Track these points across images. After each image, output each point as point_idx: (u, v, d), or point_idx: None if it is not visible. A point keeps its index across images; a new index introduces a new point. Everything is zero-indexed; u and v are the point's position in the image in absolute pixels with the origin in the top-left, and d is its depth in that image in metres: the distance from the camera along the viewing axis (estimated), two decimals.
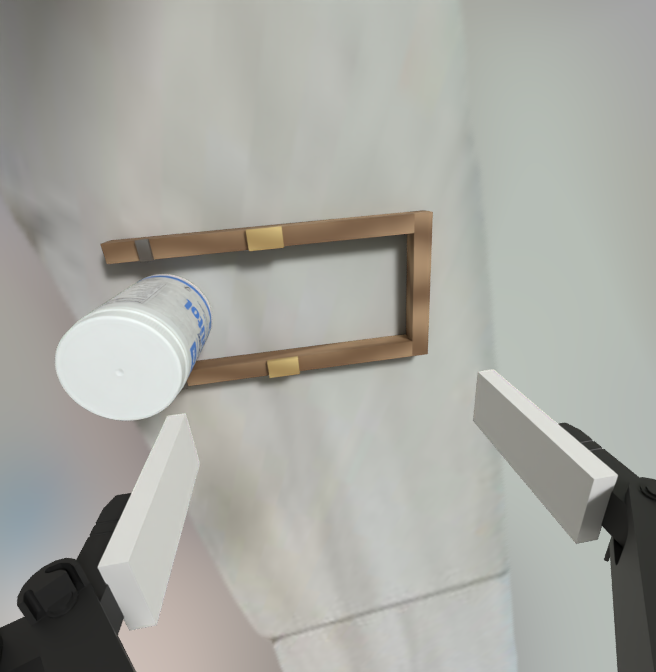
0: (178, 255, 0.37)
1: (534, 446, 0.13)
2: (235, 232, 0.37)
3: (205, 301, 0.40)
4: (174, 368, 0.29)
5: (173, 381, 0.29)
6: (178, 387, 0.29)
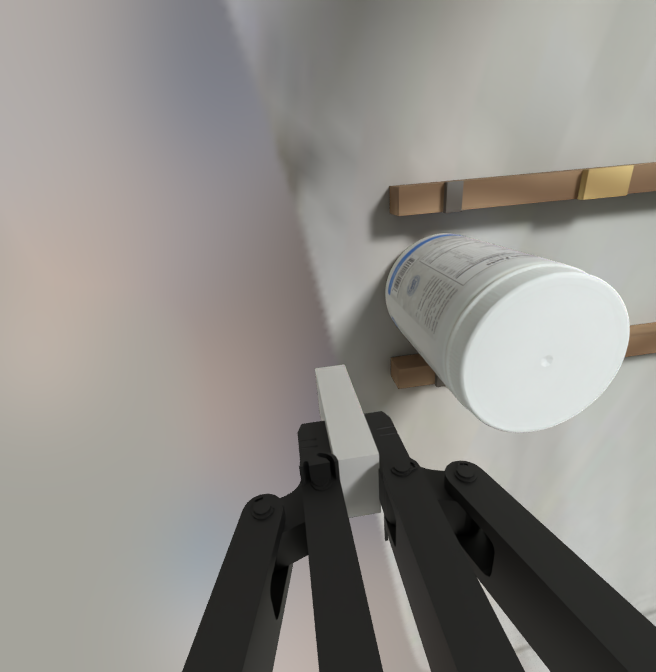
0: (489, 205, 0.27)
1: None
2: (568, 173, 0.27)
3: None
4: (619, 354, 0.19)
5: (608, 375, 0.19)
6: (609, 383, 0.20)
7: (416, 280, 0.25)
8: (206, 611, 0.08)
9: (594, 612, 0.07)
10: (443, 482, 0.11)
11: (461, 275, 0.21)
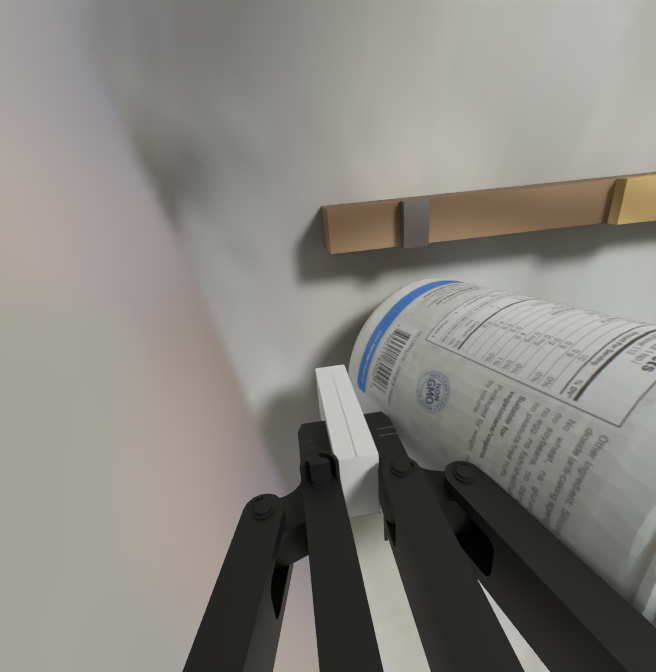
0: (472, 235, 0.18)
1: None
2: (594, 185, 0.18)
3: None
4: None
5: None
6: None
7: (439, 382, 0.13)
8: (207, 611, 0.08)
9: (594, 612, 0.07)
10: (443, 482, 0.11)
11: (587, 395, 0.09)
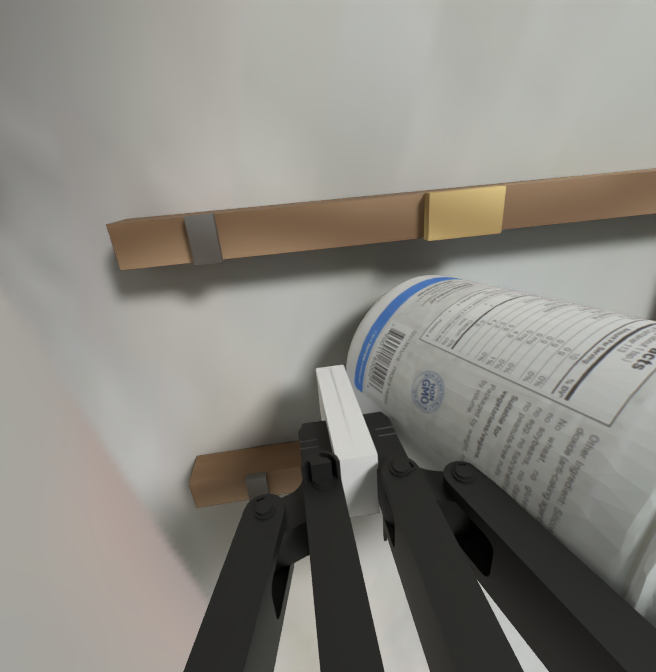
0: (275, 250, 0.17)
1: None
2: (401, 199, 0.17)
3: None
4: None
5: None
6: None
7: (433, 382, 0.13)
8: (208, 611, 0.08)
9: (593, 612, 0.07)
10: (442, 482, 0.11)
11: (579, 394, 0.10)
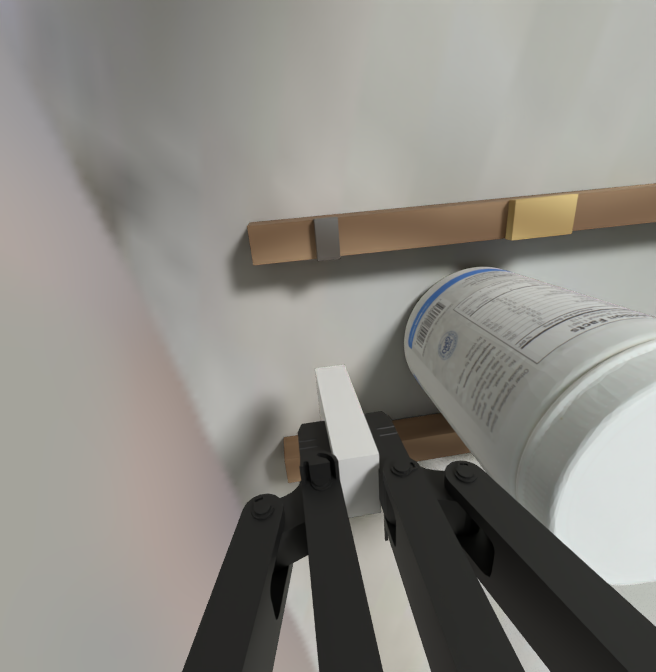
0: (382, 248, 0.20)
1: None
2: (489, 205, 0.20)
3: None
4: None
5: None
6: None
7: (452, 338, 0.18)
8: (206, 611, 0.08)
9: (594, 612, 0.07)
10: (443, 482, 0.11)
11: (529, 345, 0.14)
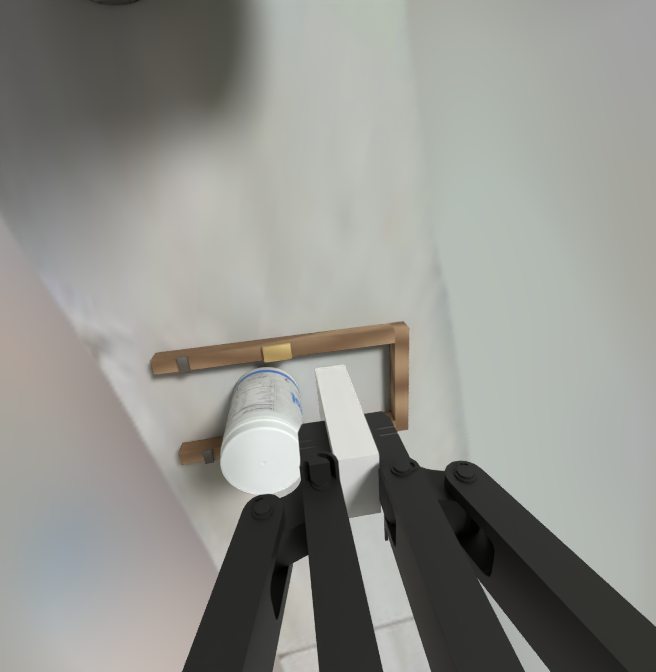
0: (209, 366, 0.47)
1: None
2: (254, 348, 0.47)
3: (297, 386, 0.51)
4: None
5: None
6: None
7: (231, 406, 0.46)
8: (206, 611, 0.08)
9: (594, 612, 0.07)
10: (443, 482, 0.11)
11: (234, 416, 0.41)
